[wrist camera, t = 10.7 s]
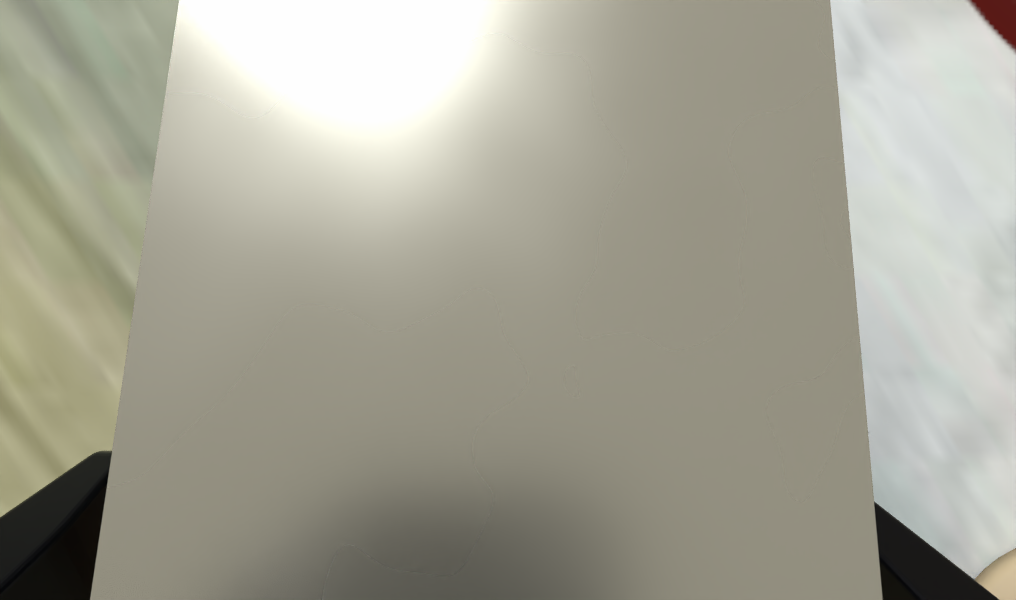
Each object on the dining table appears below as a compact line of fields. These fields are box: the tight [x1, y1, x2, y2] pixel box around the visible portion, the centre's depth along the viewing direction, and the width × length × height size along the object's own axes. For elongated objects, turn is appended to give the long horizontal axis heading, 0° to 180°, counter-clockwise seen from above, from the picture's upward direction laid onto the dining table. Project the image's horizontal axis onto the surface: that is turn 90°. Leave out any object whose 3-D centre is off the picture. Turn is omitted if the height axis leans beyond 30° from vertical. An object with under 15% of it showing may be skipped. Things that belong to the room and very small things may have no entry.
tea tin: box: [90, 0, 883, 600], centre depth 11 cm, size 5×5×13 cm
